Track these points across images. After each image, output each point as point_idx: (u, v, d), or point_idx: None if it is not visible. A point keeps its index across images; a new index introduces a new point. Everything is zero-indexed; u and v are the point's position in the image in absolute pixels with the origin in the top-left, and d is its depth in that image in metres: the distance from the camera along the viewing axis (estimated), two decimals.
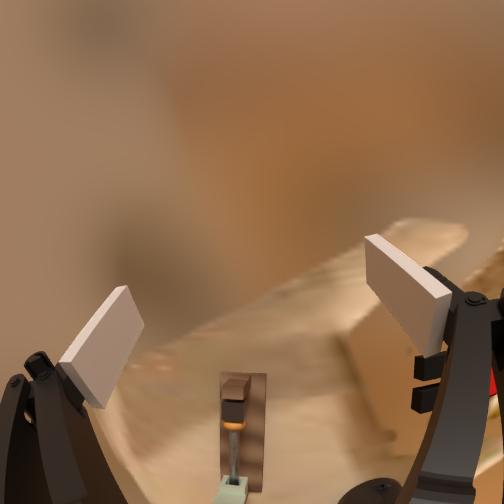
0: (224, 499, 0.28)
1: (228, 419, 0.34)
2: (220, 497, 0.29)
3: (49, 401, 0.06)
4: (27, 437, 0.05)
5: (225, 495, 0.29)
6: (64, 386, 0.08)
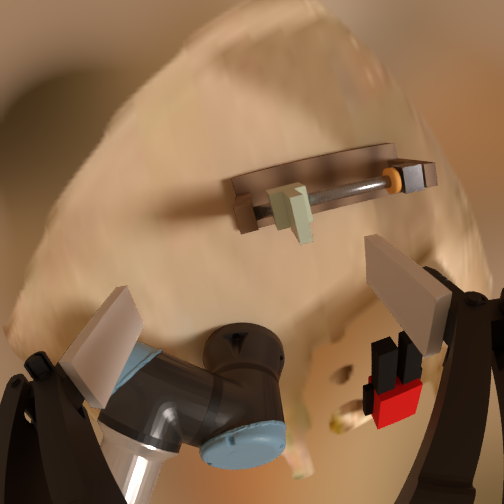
0: None
1: (405, 176, 0.28)
2: None
3: (49, 401, 0.06)
4: (27, 437, 0.05)
5: None
6: (64, 386, 0.08)
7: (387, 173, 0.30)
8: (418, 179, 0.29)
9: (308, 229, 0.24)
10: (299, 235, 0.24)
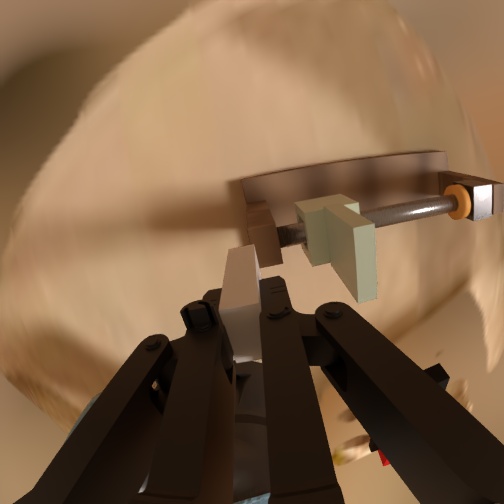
0: None
1: (475, 198, 0.18)
2: None
3: (198, 361, 0.08)
4: (142, 417, 0.07)
5: None
6: (224, 336, 0.10)
7: (453, 192, 0.20)
8: (487, 203, 0.18)
9: (373, 280, 0.14)
10: (358, 289, 0.14)
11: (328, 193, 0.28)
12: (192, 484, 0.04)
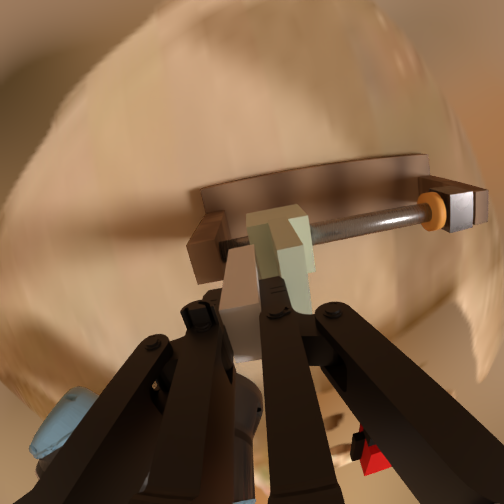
0: None
1: (452, 207, 0.18)
2: None
3: (198, 361, 0.08)
4: (142, 417, 0.07)
5: None
6: (224, 336, 0.10)
7: (427, 200, 0.19)
8: (467, 213, 0.18)
9: (306, 306, 0.13)
10: None
11: (291, 202, 0.28)
12: (192, 484, 0.04)
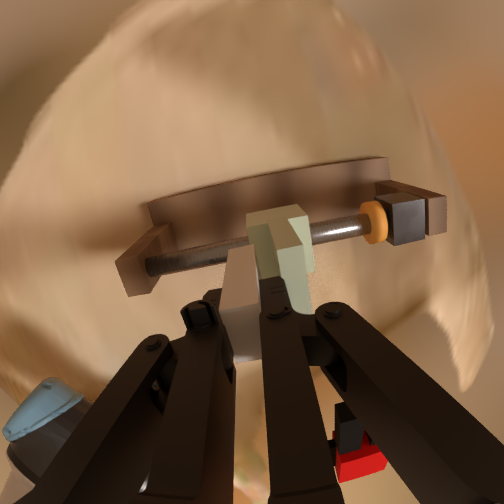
0: None
1: (395, 217, 0.18)
2: None
3: (198, 361, 0.08)
4: (142, 417, 0.07)
5: None
6: (225, 337, 0.10)
7: (366, 210, 0.19)
8: (417, 223, 0.18)
9: (306, 305, 0.13)
10: None
11: (234, 213, 0.28)
12: (192, 484, 0.04)
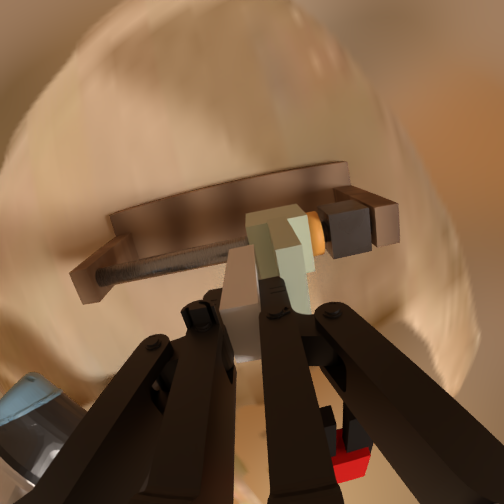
0: None
1: (333, 229, 0.18)
2: None
3: (199, 361, 0.08)
4: (142, 417, 0.07)
5: None
6: (225, 336, 0.10)
7: None
8: (360, 234, 0.18)
9: (305, 305, 0.13)
10: None
11: (188, 223, 0.28)
12: (192, 484, 0.04)
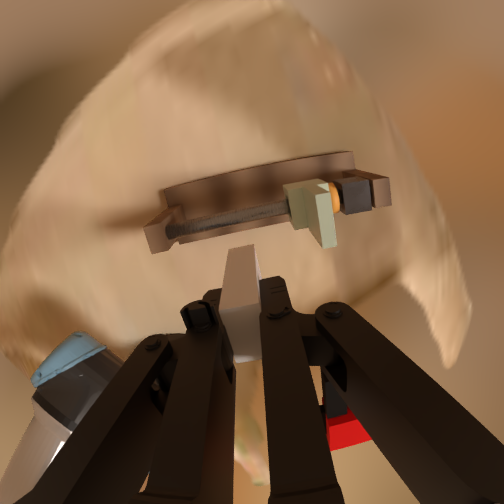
0: None
1: (345, 193, 0.26)
2: None
3: (198, 361, 0.08)
4: (142, 417, 0.07)
5: None
6: (224, 337, 0.10)
7: None
8: (363, 198, 0.26)
9: (332, 231, 0.21)
10: (322, 238, 0.21)
11: (231, 196, 0.36)
12: (192, 484, 0.04)
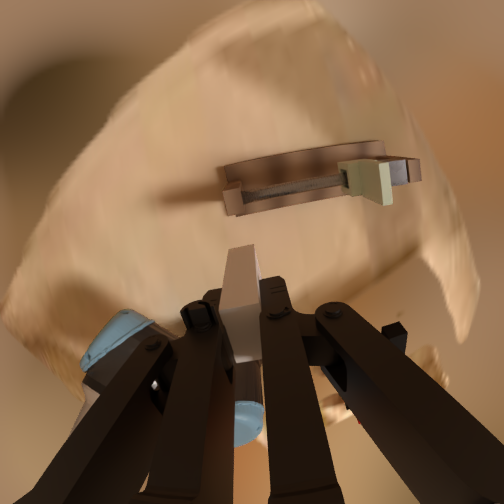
0: None
1: None
2: None
3: (198, 361, 0.08)
4: (142, 417, 0.07)
5: None
6: (224, 336, 0.10)
7: None
8: (402, 174, 0.31)
9: (389, 192, 0.26)
10: (383, 197, 0.26)
11: (285, 174, 0.41)
12: (192, 484, 0.04)
